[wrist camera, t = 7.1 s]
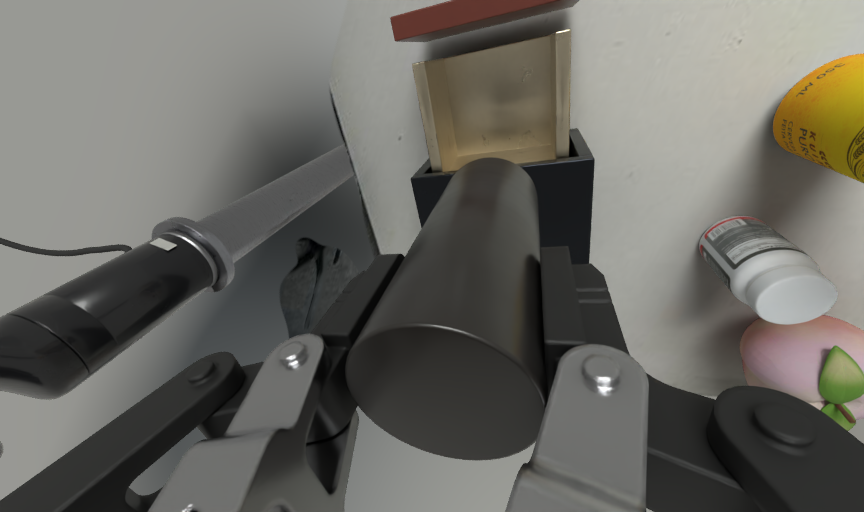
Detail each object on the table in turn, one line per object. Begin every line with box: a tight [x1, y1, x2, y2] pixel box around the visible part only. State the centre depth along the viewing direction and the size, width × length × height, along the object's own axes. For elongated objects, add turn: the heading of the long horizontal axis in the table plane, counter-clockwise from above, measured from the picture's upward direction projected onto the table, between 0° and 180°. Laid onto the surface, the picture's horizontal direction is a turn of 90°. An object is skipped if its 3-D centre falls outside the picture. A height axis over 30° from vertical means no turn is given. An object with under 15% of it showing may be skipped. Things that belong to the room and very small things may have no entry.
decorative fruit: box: [739, 315, 864, 431], centre depth 27 cm, size 9×8×10 cm
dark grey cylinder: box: [345, 157, 548, 460], centre depth 11 cm, size 4×4×10 cm
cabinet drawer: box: [390, 0, 579, 173], centre depth 23 cm, size 12×10×7 cm
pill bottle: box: [699, 216, 838, 325], centre depth 25 cm, size 5×5×8 cm
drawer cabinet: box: [411, 128, 595, 264], centre depth 28 cm, size 12×12×9 cm
